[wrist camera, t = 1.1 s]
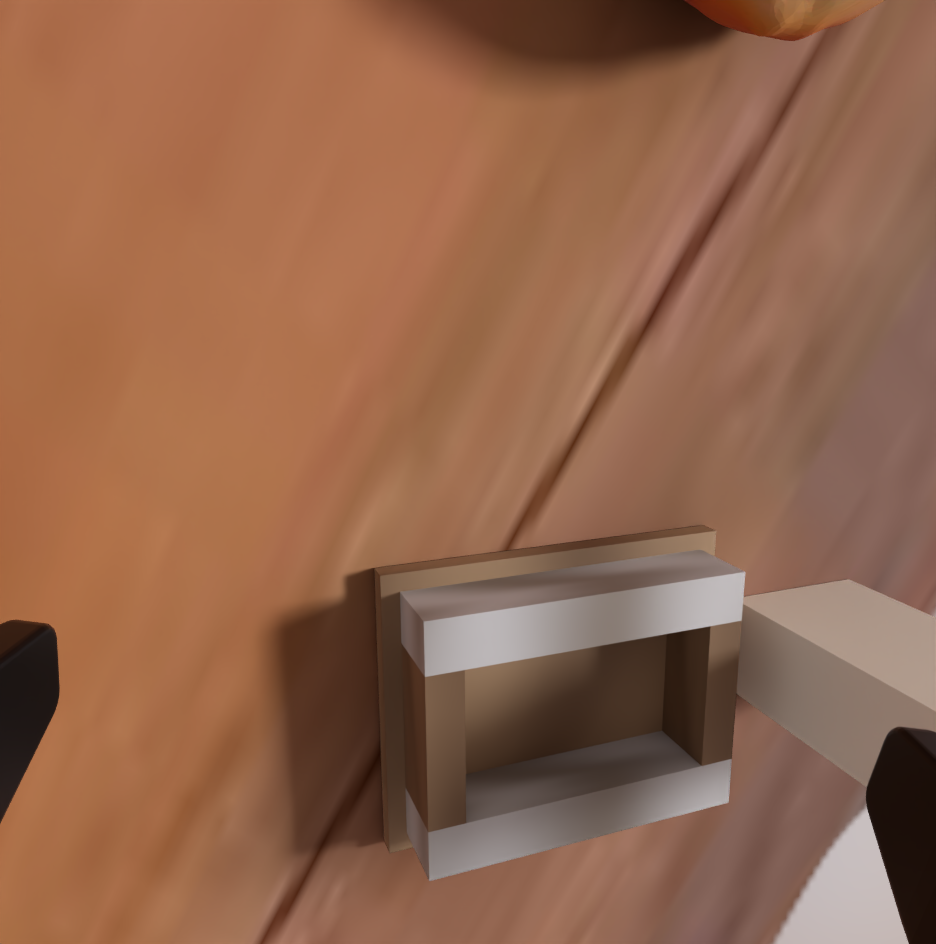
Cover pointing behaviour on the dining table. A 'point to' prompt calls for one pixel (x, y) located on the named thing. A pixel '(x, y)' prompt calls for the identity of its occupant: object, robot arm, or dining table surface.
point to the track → (554, 693)
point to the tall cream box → (839, 668)
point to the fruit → (782, 15)
